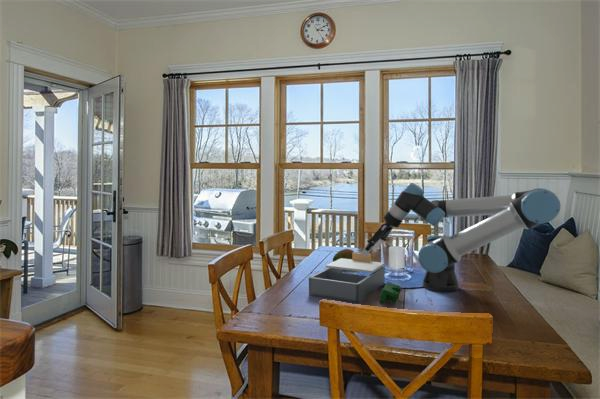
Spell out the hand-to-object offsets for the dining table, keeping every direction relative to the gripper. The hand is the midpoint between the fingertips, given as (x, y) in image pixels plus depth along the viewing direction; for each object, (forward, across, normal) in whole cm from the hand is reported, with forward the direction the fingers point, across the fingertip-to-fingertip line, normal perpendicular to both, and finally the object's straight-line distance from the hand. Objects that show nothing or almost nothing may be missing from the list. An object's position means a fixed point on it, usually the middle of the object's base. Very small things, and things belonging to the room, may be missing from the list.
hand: (368, 252), depth 175 cm
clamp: (+4, +15, +21) cm, 26 cm away
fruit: (+26, -28, -9) cm, 39 cm away
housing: (+16, +8, +4) cm, 18 cm away
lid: (+9, -1, -1) cm, 9 cm away
